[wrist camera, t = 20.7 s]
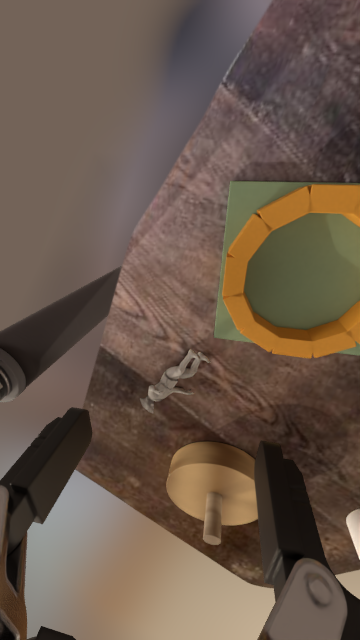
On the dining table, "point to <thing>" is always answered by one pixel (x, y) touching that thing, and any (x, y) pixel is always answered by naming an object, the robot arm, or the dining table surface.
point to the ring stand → (213, 486)
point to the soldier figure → (172, 380)
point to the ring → (314, 198)
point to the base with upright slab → (354, 528)
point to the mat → (293, 264)
